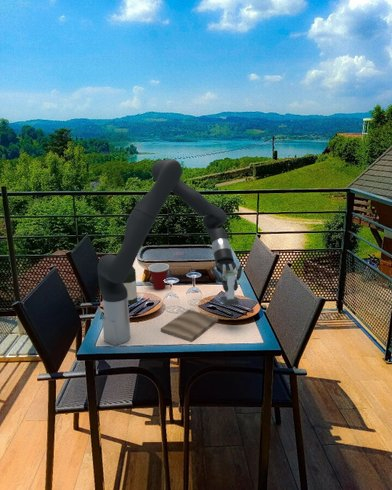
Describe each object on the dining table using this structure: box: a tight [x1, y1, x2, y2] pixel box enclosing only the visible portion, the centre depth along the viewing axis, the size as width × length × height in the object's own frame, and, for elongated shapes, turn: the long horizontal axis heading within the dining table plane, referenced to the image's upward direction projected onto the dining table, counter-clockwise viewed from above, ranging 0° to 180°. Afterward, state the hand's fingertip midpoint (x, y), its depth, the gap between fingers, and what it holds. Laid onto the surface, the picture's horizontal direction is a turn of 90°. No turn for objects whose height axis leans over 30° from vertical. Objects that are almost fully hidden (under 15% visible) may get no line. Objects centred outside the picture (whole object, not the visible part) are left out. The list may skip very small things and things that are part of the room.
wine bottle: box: [121, 242, 138, 305], centre depth 166 cm, size 8×8×30 cm
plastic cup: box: [147, 262, 170, 291], centre depth 189 cm, size 11×11×12 cm
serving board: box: [160, 309, 219, 343], centre depth 149 cm, size 20×15×2 cm
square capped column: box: [220, 269, 239, 307], centre depth 144 cm, size 6×6×13 cm
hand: (231, 290), depth 142 cm, fingers closed on square capped column, 3 cm apart
